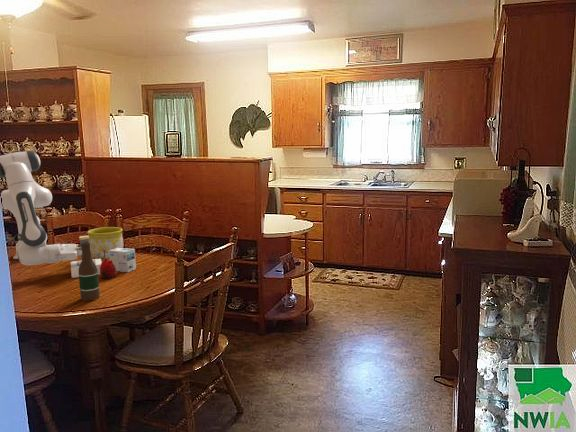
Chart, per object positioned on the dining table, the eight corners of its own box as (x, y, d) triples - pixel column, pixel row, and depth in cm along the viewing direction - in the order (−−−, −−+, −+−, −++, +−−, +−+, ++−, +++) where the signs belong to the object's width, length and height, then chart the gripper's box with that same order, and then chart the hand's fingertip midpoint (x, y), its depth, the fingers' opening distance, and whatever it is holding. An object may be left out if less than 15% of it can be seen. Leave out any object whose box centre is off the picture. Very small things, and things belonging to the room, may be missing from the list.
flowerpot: (90, 265, 249) (87, 234, 246) (89, 257, 265) (86, 228, 262) (126, 261, 256) (124, 231, 253) (123, 253, 272) (121, 225, 269)
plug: (81, 263, 235) (79, 236, 233) (90, 262, 237) (88, 235, 235) (81, 265, 231) (79, 237, 229) (91, 264, 233) (88, 237, 231)
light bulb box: (136, 269, 241) (135, 248, 239) (128, 272, 235) (126, 251, 233) (119, 267, 244) (117, 247, 242) (110, 271, 238) (108, 250, 236)
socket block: (71, 271, 238) (70, 261, 237) (101, 267, 243) (100, 257, 242) (71, 277, 227) (70, 267, 226) (102, 274, 233) (102, 263, 232)
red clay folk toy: (119, 275, 229) (117, 245, 227) (110, 280, 223) (108, 249, 220) (106, 274, 231) (103, 245, 229) (96, 279, 225) (94, 248, 222)
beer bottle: (83, 295, 202) (79, 240, 198) (102, 294, 202) (98, 240, 198) (77, 301, 194) (72, 245, 190) (96, 301, 195) (92, 244, 191)
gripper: (54, 251, 218) (87, 248, 223) (56, 242, 236) (86, 240, 242) (56, 264, 219) (88, 261, 225) (57, 255, 237) (86, 252, 243)
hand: (87, 250), depth 233 cm, fingers closed on plug, 4 cm apart
